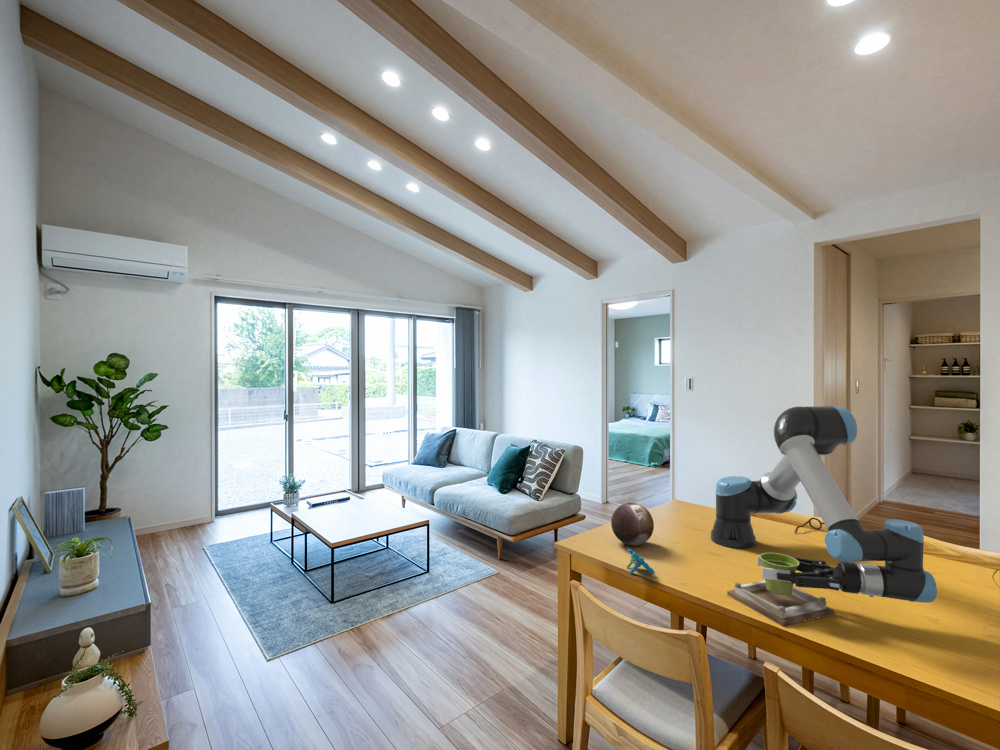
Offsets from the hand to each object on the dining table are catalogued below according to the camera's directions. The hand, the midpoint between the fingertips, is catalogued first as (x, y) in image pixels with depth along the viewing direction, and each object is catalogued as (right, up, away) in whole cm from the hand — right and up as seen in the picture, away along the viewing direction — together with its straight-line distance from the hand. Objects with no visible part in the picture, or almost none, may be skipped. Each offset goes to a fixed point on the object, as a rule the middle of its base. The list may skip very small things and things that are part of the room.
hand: (759, 566), depth 135 cm
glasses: (+52, -10, +54) cm, 75 cm away
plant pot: (+4, -6, -2) cm, 8 cm away
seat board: (+4, -10, -1) cm, 11 cm away
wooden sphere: (-23, -9, +44) cm, 51 cm away
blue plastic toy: (-27, -10, +19) cm, 35 cm away
